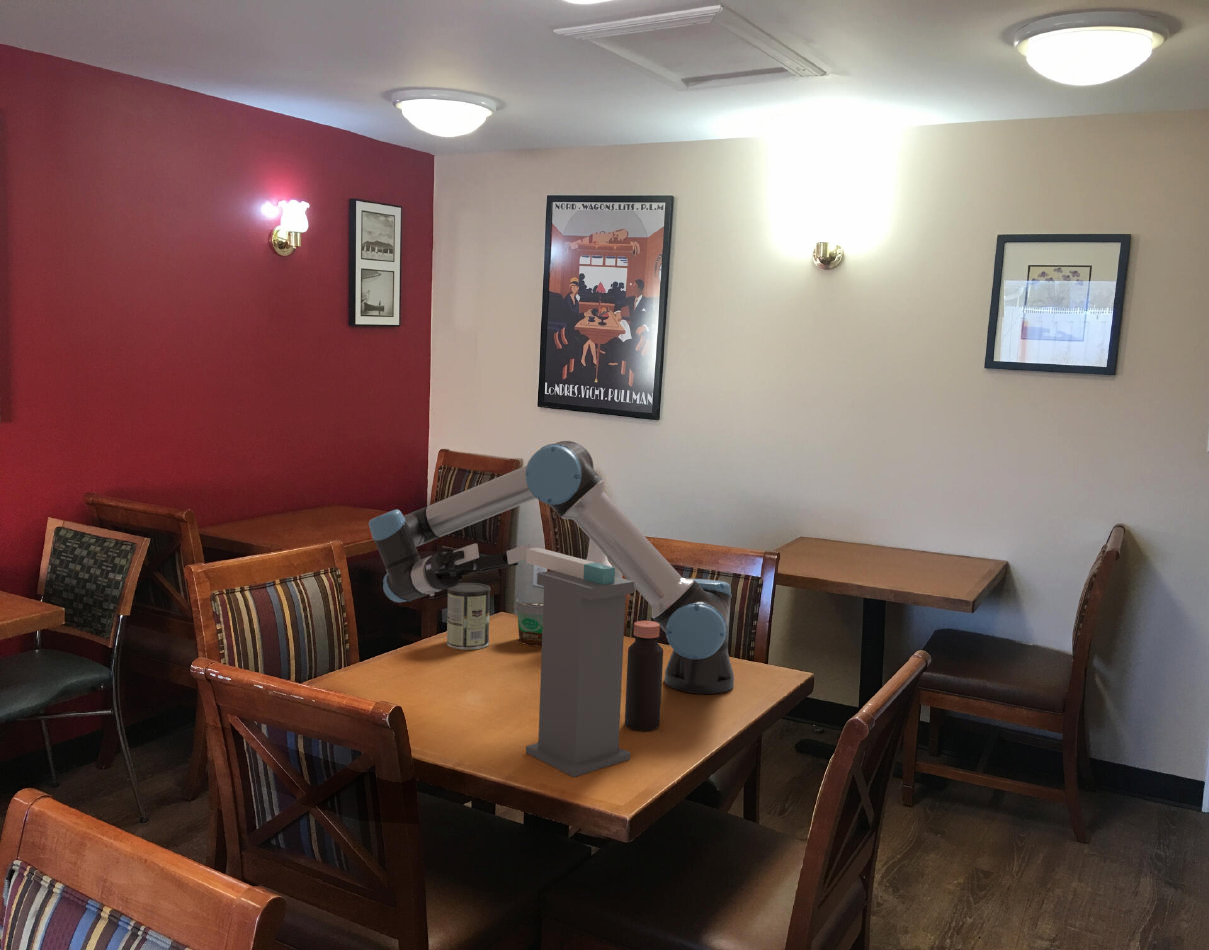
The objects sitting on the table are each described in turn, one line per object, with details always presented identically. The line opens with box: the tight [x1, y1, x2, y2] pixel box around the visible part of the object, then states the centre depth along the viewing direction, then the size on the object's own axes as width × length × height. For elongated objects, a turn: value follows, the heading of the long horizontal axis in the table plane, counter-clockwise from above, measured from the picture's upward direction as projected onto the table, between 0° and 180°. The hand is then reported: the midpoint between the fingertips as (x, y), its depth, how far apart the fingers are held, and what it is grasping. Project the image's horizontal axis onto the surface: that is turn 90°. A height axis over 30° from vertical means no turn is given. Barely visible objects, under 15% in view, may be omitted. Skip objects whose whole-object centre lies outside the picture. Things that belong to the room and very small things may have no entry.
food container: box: [514, 598, 544, 646], centre depth 245 cm, size 12×6×10 cm, turn 81°
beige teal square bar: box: [525, 547, 616, 585], centre depth 176 cm, size 21×3×3 cm, turn 42°
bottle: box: [624, 620, 664, 732], centre depth 192 cm, size 7×7×20 cm
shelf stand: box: [525, 570, 635, 778], centre depth 175 cm, size 14×13×32 cm
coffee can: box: [446, 582, 491, 651], centre depth 242 cm, size 10×10×14 cm
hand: (504, 550), depth 195 cm, fingers open, 13 cm apart
